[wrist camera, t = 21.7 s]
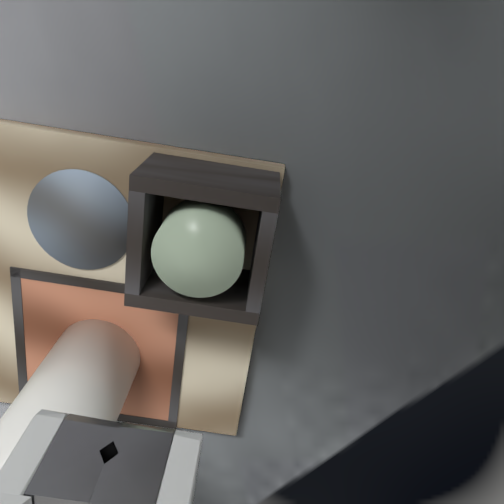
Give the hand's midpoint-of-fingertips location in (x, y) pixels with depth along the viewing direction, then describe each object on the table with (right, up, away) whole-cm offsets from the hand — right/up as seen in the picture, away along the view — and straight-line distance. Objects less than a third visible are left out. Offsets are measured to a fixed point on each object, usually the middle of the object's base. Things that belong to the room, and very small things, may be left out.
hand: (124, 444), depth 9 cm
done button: (0, +4, +11) cm, 12 cm away
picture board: (-7, +2, +15) cm, 17 cm away
